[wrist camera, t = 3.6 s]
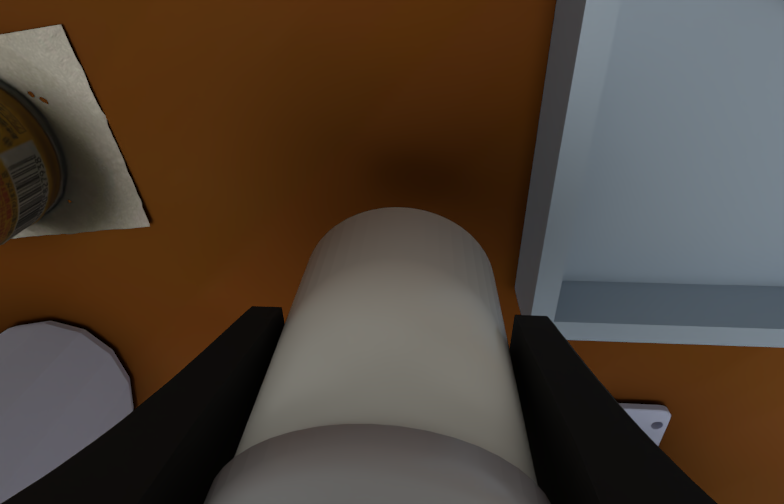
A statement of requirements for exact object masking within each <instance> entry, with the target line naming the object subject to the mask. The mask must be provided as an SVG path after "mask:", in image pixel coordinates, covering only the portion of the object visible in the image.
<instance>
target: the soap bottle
mask: <svg viewBox="0 0 784 504" xmlns="http://www.w3.org/2000/svg"><path fill="white" fill-rule="evenodd" d="M133 408H134V406H133V399H132V391H131V384H130V377H129V376H128V374H127V372H126V371H125V369H124V367H123V366H122V364H121V363H120V361H119V359H118V358H117V356H116V354H115V353H114V351H113V350H112V349H111V348H110V347H108V346H107V345H106V344H104V343H103V342H101V341H100V340H99V339H97V338H96V337H95V336H93V335H92V334H91V333H89V332H88V331H86V330H85V329H82V328H78V327H74V326H70V325H66V324H62V323H59V322H55V321H44V322H38V323H31V324H24V325H18V326H14V327H11V328H8V329H7V330H5V331H4V332H2V333H1V334H0V504H1V503H3V502H4V501H6V500H7V499H9V498H11V497H12V496H14V495H15V494H17V493H18V492H20V491H21V490H23V489H25V488H26V487H28V486H29V485H31V484H32V483H34V482H36V481H37V480H39V479H40V478H42V477H43V476H45V475H46V474H48V473H49V472H51V471H52V470H54V469H55V468H57V467H58V466H60V465H61V464H62V463H64V462H65V461H67V460H68V459H69V458H71V457H72V456H74V455H75V454H77V453H78V452H79V451H81V450H82V449H84V448H85V447H86V446H88V445H89V444H91V443H92V442H93V441H95V440H96V439H97V438H99V437H100V436H101V435H103V434H104V433H106V432H107V431H108V430H110V429H111V428H112V427H113V426H115V425H116V424H117V423H119V422H120V421H121V420H123V419H124V418H125V417H126V416H127V415H129V414H130V413H131V412H132V411H133Z"/></svg>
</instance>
